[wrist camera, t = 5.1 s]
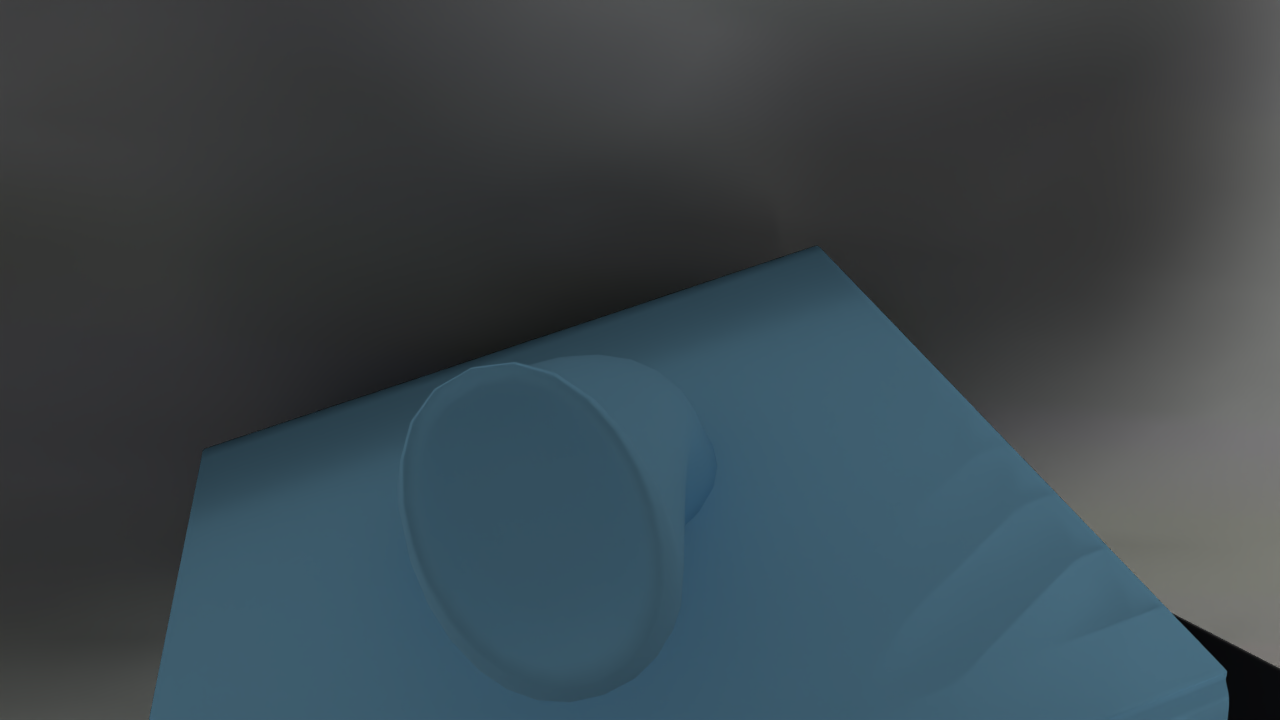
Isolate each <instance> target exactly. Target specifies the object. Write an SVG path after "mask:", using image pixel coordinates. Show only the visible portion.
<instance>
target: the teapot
mask: <svg viewBox="0 0 1280 720" xmlns="http://www.w3.org/2000/svg"><path fill="white" fill-rule="evenodd" d="M1226 676H1227V671H1226V669H1225V668H1224V667H1223V666H1222V665H1221V664H1220V663H1219V662H1218V661H1217V660H1216V659H1215V658H1214V657H1213V656H1212V655H1211V654H1210V653H1209V652H1208V650H1207V649H1206V648H1205V647H1204V646H1203V645H1202V644H1201V643H1200V642H1199V641H1198V640H1197V639H1196V638H1195V637H1194V636H1193V635H1192V634H1191V633H1190V632H1189V631H1188V630H1187V629H1186V628H1185V627H1184V626H1183V625H1182V623H1181V622H1180V621H1179V620H1178V619H1177V618H1176V617H1175V616H1174V615H1173V614H1172V613H1171V612H1170V611H1169V610H1168V609H1167V608H1166V607H1165V606H1164V605H1163V604H1162V603H1161V602H1160V601H1159V600H1158V599H1157V597H1156V596H1155V595H1154V594H1153V593H1152V592H1151V591H1150V590H1149V589H1148V588H1147V587H1146V586H1145V585H1144V584H1143V583H1142V582H1141V581H1140V580H1139V579H1138V578H1137V577H1136V576H1135V575H1134V574H1133V573H1132V571H1131V570H1130V569H1129V568H1128V567H1127V566H1126V565H1125V564H1124V563H1123V562H1122V561H1121V560H1120V559H1119V558H1118V557H1117V556H1116V555H1115V554H1114V553H1113V552H1112V551H1111V550H1110V549H1109V548H1108V547H1107V545H1106V544H1105V543H1104V542H1103V541H1102V540H1101V539H1100V538H1099V537H1098V536H1097V535H1096V534H1095V533H1094V532H1093V531H1092V530H1091V529H1090V528H1089V527H1088V526H1087V525H1086V524H1085V523H1084V522H1083V521H1082V519H1081V518H1080V517H1079V516H1078V515H1077V514H1076V513H1075V512H1074V511H1073V510H1072V509H1071V508H1070V507H1069V506H1068V505H1067V504H1066V503H1065V502H1064V501H1063V500H1062V499H1061V498H1060V497H1059V496H1058V495H1057V493H1056V492H1055V491H1054V490H1053V489H1052V488H1051V487H1050V486H1049V485H1048V484H1047V483H1046V482H1045V481H1044V480H1043V479H1042V478H1041V477H1040V476H1039V475H1038V474H1037V473H1036V472H1035V471H1034V470H1033V469H1032V467H1031V466H1030V465H1029V464H1028V463H1027V462H1026V461H1025V460H1024V459H1023V458H1022V457H1021V456H1020V455H1019V454H1018V453H1017V452H1016V451H1015V450H1014V449H1013V448H1012V447H1011V446H1010V445H1009V444H1008V443H1007V441H1006V440H1005V439H1004V438H1003V437H1002V436H1001V435H1000V434H999V433H998V432H997V431H996V430H995V429H994V428H993V427H992V426H991V425H990V424H989V423H988V422H987V421H986V420H985V419H984V418H983V417H982V415H981V414H980V413H979V412H978V411H977V410H976V409H975V408H974V407H973V406H972V405H971V404H970V403H969V402H968V401H967V400H966V399H965V398H964V397H963V396H962V395H961V394H960V393H959V392H958V391H957V389H956V388H955V387H954V386H953V385H952V384H951V383H950V382H949V381H948V380H947V379H946V378H945V377H944V376H943V375H942V374H941V373H940V372H939V371H938V370H937V369H936V368H935V367H934V366H933V365H932V363H931V362H930V361H929V360H928V359H927V358H926V357H925V356H924V355H923V354H922V353H921V352H920V351H919V350H918V349H917V348H916V347H915V346H914V345H913V344H912V343H911V342H910V341H909V340H908V339H907V337H906V336H905V335H904V334H903V333H902V332H901V331H900V330H899V329H898V328H897V327H896V326H895V325H894V324H893V323H892V322H891V321H890V320H889V319H888V318H887V317H886V316H885V315H884V314H883V313H882V311H881V310H880V309H879V308H878V307H877V306H876V305H875V304H874V303H873V302H872V301H871V300H870V299H869V298H868V297H867V296H866V295H865V294H864V293H863V292H862V291H861V290H860V289H859V288H858V287H857V285H856V284H855V283H854V282H853V281H852V280H851V279H850V278H849V277H848V276H847V275H846V274H845V273H844V272H843V271H842V270H841V269H840V268H839V267H838V266H837V265H836V264H835V263H834V262H833V261H832V259H831V258H830V257H829V256H828V255H827V254H826V253H825V252H824V251H823V250H822V249H821V248H820V247H819V246H814V247H811V248H808V249H805V250H801V251H798V252H795V253H792V254H789V255H786V256H783V257H780V258H777V259H774V260H771V261H768V262H765V263H762V264H759V265H756V266H753V267H750V268H747V269H744V270H741V271H738V272H735V273H732V274H729V275H726V276H723V277H720V278H717V279H714V280H711V281H708V282H705V283H702V284H699V285H696V286H693V287H690V288H687V289H684V290H681V291H678V292H675V293H672V294H669V295H666V296H663V297H660V298H657V299H654V300H651V301H648V302H645V303H642V304H639V305H636V306H633V307H630V308H627V309H624V310H621V311H618V312H615V313H612V314H609V315H606V316H603V317H600V318H597V319H594V320H591V321H588V322H585V323H582V324H579V325H576V326H573V327H570V328H567V329H564V330H561V331H558V332H555V333H552V334H549V335H546V336H543V337H539V338H536V339H533V340H530V341H527V342H524V343H521V344H518V345H515V346H512V347H509V348H506V349H503V350H500V351H497V352H494V353H491V354H488V355H485V356H483V357H480V358H477V359H474V360H471V361H468V362H465V363H462V364H459V365H456V366H453V367H450V368H447V369H444V370H441V371H438V372H435V373H432V374H429V375H426V376H423V377H420V378H417V379H414V380H411V381H408V382H405V383H402V384H399V385H396V386H393V387H389V388H386V389H383V390H380V391H377V392H374V393H371V394H368V395H365V396H362V397H359V398H356V399H353V400H350V401H347V402H344V403H341V404H338V405H335V406H332V407H329V408H326V409H323V410H320V411H317V412H314V413H311V414H308V415H305V416H302V417H299V418H296V419H293V420H290V421H287V422H284V423H281V424H278V425H275V426H272V427H269V428H266V429H263V430H260V431H257V432H254V433H251V434H248V435H245V436H242V437H239V438H236V439H233V440H230V441H227V442H224V443H221V444H218V445H215V446H212V447H209V448H206V449H204V450H203V453H202V458H201V463H200V468H199V473H198V478H197V483H196V488H195V493H194V498H193V503H192V508H191V513H190V518H189V523H188V528H187V533H186V538H185V543H184V548H183V553H182V558H181V563H180V568H179V573H178V578H177V583H176V588H175V593H174V598H173V603H172V608H171V613H170V618H169V623H168V628H167V633H166V638H165V643H164V648H163V653H162V658H161V663H160V668H159V673H158V677H157V682H156V687H155V692H154V697H153V702H152V707H151V712H150V717H149V720H1227V719H1228V710H1229V694H1228V689H1227V684H1226Z"/></svg>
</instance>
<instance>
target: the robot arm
mask: <svg viewBox="0 0 1280 720" xmlns="http://www.w3.org/2000/svg"><path fill="white" fill-rule="evenodd" d="M1172 614H1173V613H1172ZM1173 615H1174V616H1175V617H1176V618H1177V619H1178V620H1179V621H1180V622H1181V623H1182V625H1183V626H1184V627H1185V628H1186V629H1187V630H1188V631H1189V632H1190V633H1191V634H1192V635H1193V636H1194V637H1195V638H1196V639H1197V640H1198V641H1199V642H1200V643H1201V644H1202V645H1203V646H1204V647H1205V648H1206V649H1207V650H1208V652H1209V653H1210V654H1211V655H1212V656H1213V657H1214V658H1215V659H1216V660H1217V661H1218V662H1219V663H1220V664H1221V665H1222V666H1223V667H1224V668H1225V669H1226V671H1227V676H1226V684H1227V689H1228V694H1229V710H1228V719H1227V720H1280V668H1278V667H1276V666H1274V665H1272V664H1270V663H1268V662H1266V661H1264V660H1262V659H1260V658H1258V657H1256V656H1255V655H1253V654H1251V653H1249V652H1247V651H1245V650H1243V649H1241V648H1239V647H1237V646H1235V645H1233V644H1231V643H1229V642H1227V641H1225V640H1223V639H1221V638H1219V637H1218V636H1216V635H1214V634H1212V633H1210V632H1208V631H1206V630H1204V629H1202V628H1200V627H1198V626H1196V625H1194V624H1192V623H1190V622H1188V621H1186V620H1184V619H1182V618H1180V617H1179V616H1177V615H1175V614H1173Z"/></svg>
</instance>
